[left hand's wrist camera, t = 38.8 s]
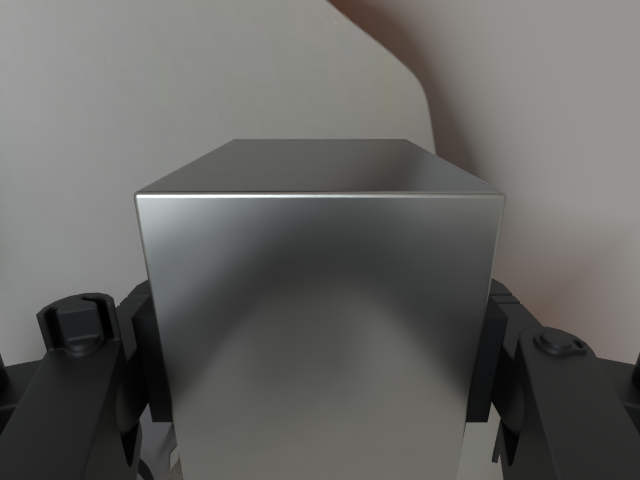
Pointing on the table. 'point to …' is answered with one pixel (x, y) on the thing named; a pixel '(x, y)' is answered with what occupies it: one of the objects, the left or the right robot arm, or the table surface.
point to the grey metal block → (319, 307)
